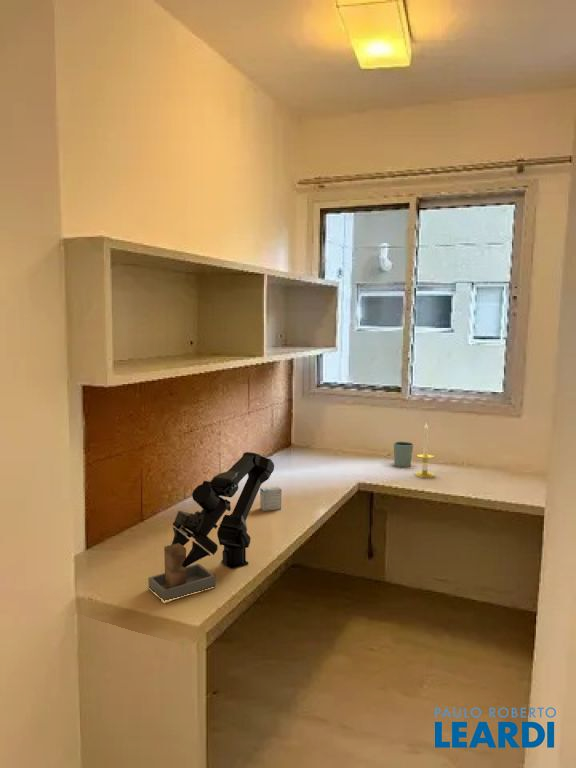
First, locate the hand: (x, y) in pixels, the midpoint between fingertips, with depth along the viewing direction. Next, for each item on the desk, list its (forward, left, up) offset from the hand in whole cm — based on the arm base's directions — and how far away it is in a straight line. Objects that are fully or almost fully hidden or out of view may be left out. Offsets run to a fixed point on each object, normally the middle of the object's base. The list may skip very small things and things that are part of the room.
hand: (175, 560), depth 161 cm
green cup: (-159, -57, -9) cm, 169 cm away
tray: (-2, 0, -9) cm, 9 cm away
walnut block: (0, 0, -8) cm, 8 cm away
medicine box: (-62, -41, -9) cm, 75 cm away
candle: (-154, -38, -9) cm, 159 cm away
